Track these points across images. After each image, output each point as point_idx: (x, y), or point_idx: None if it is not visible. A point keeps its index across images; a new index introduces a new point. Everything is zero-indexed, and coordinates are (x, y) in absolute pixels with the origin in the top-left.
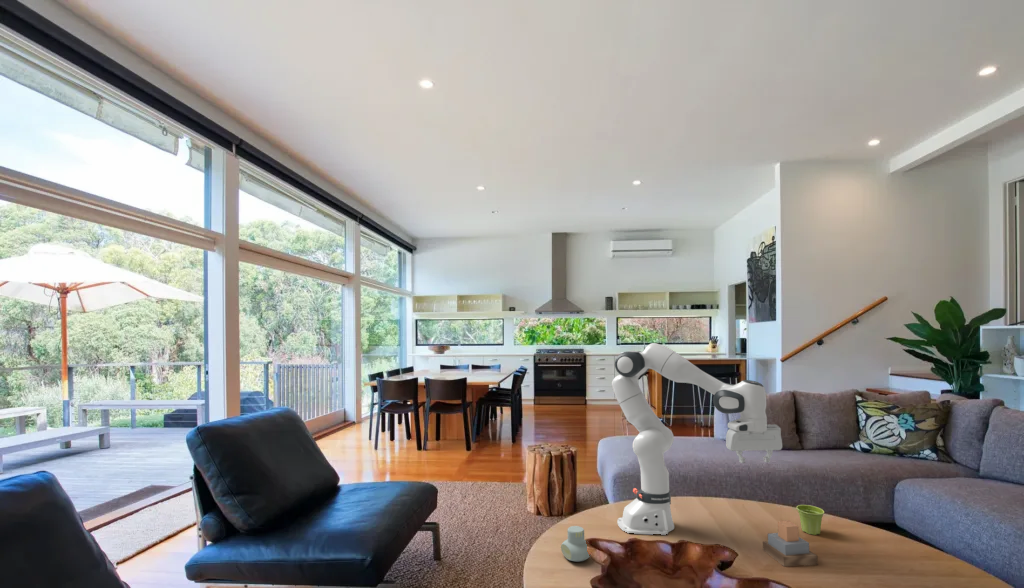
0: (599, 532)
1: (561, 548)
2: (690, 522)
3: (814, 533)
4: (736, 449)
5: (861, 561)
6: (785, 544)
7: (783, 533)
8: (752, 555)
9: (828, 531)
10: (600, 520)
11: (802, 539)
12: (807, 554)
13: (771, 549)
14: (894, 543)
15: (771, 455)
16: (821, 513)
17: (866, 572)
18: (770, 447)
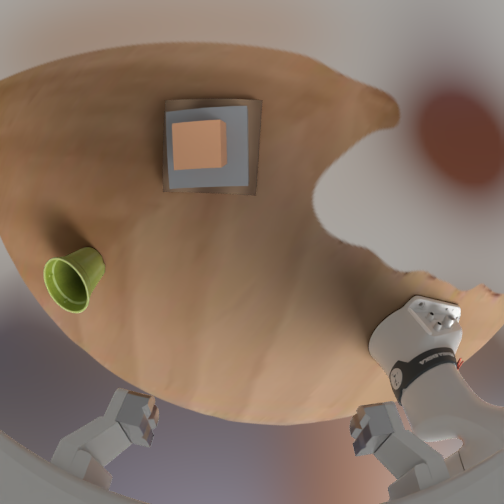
0: (481, 312)
1: None
2: (328, 344)
3: (90, 248)
4: (490, 469)
5: (76, 120)
6: (244, 107)
7: (224, 137)
8: (303, 169)
9: None
10: None
11: (168, 133)
12: (184, 108)
13: (258, 153)
14: (4, 197)
15: (80, 428)
16: (51, 260)
17: (100, 73)
18: (59, 499)
